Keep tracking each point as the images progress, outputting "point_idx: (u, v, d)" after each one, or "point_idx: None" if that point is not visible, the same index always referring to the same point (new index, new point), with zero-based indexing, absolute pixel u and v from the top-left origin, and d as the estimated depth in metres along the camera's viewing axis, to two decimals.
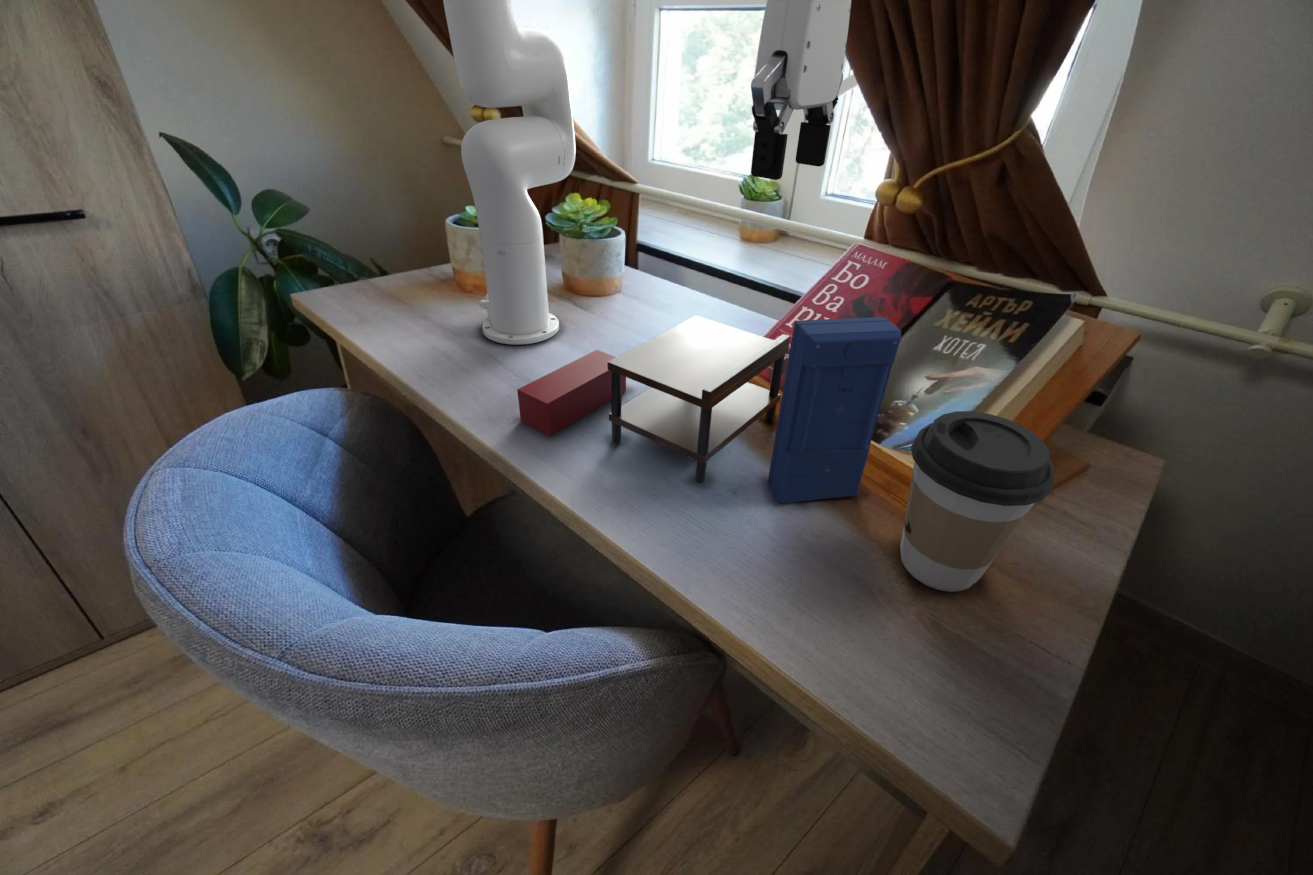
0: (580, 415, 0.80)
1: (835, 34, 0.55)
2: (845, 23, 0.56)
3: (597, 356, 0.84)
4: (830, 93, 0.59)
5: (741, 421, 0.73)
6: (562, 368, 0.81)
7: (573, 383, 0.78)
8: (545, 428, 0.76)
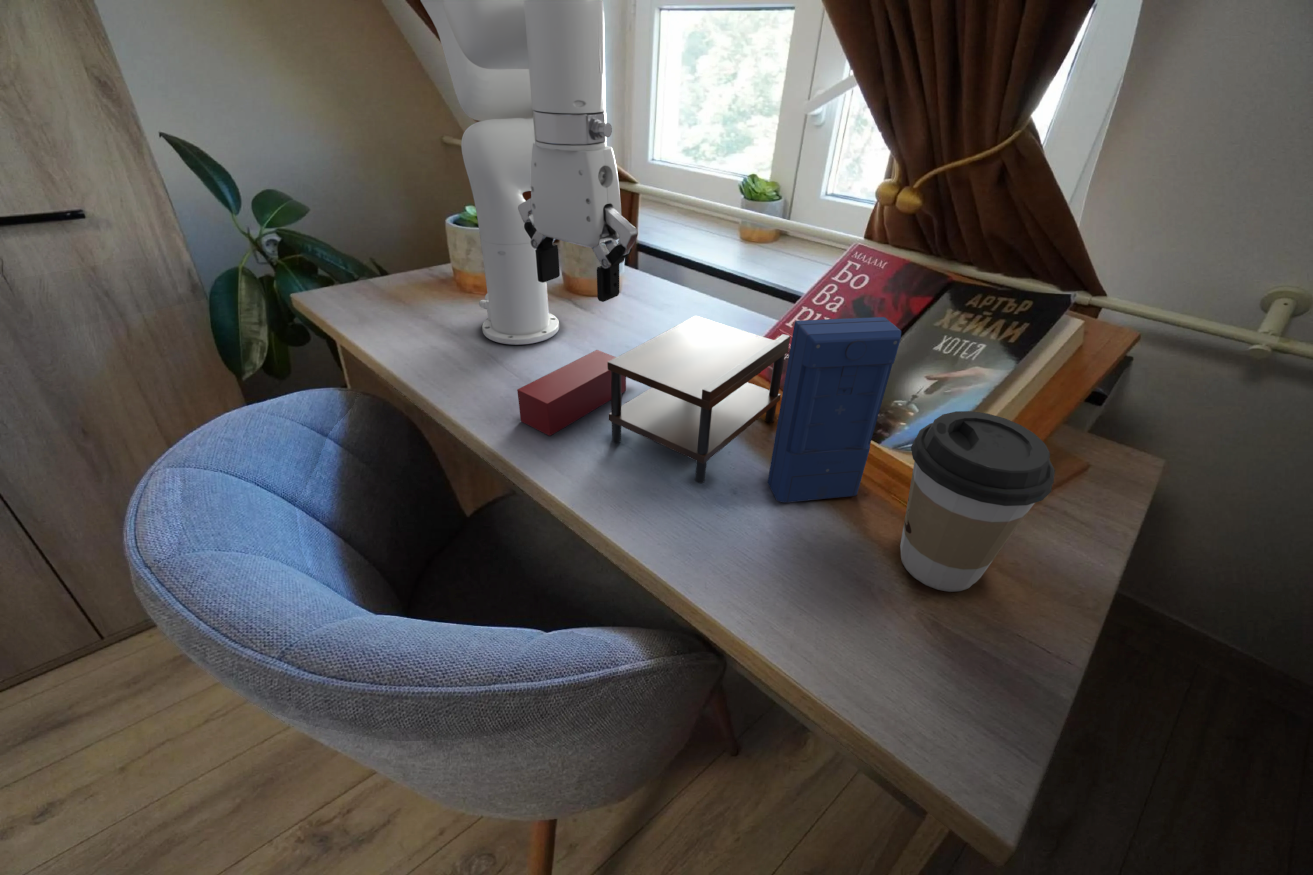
0: (580, 415, 0.80)
1: (560, 188, 0.64)
2: (576, 182, 0.63)
3: (597, 356, 0.84)
4: (577, 236, 0.66)
5: (741, 421, 0.73)
6: (562, 368, 0.81)
7: (573, 383, 0.78)
8: (545, 428, 0.76)
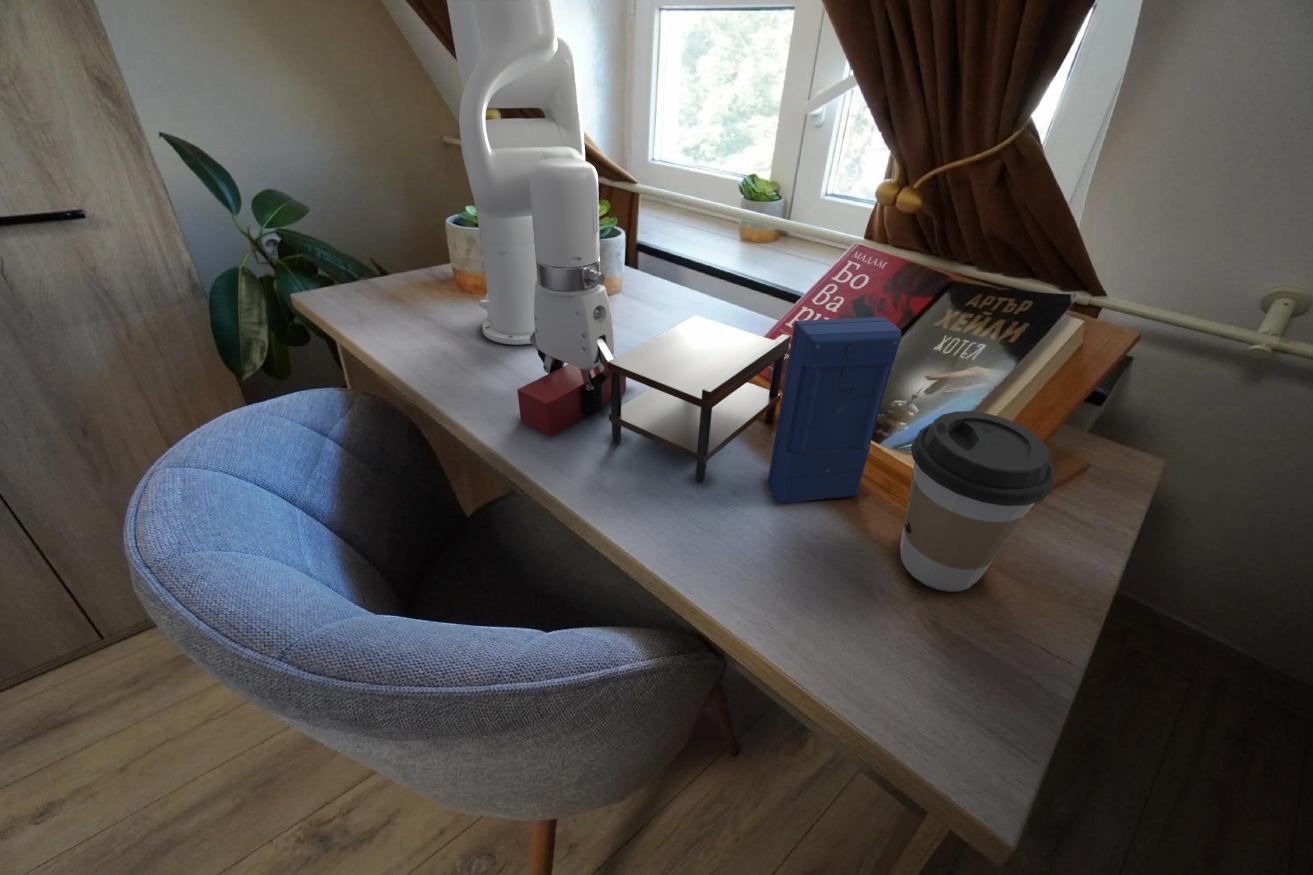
0: (580, 415, 0.80)
1: (559, 321, 0.73)
2: (573, 319, 0.72)
3: None
4: (574, 360, 0.75)
5: (741, 421, 0.73)
6: (562, 368, 0.81)
7: (573, 383, 0.78)
8: (545, 428, 0.76)
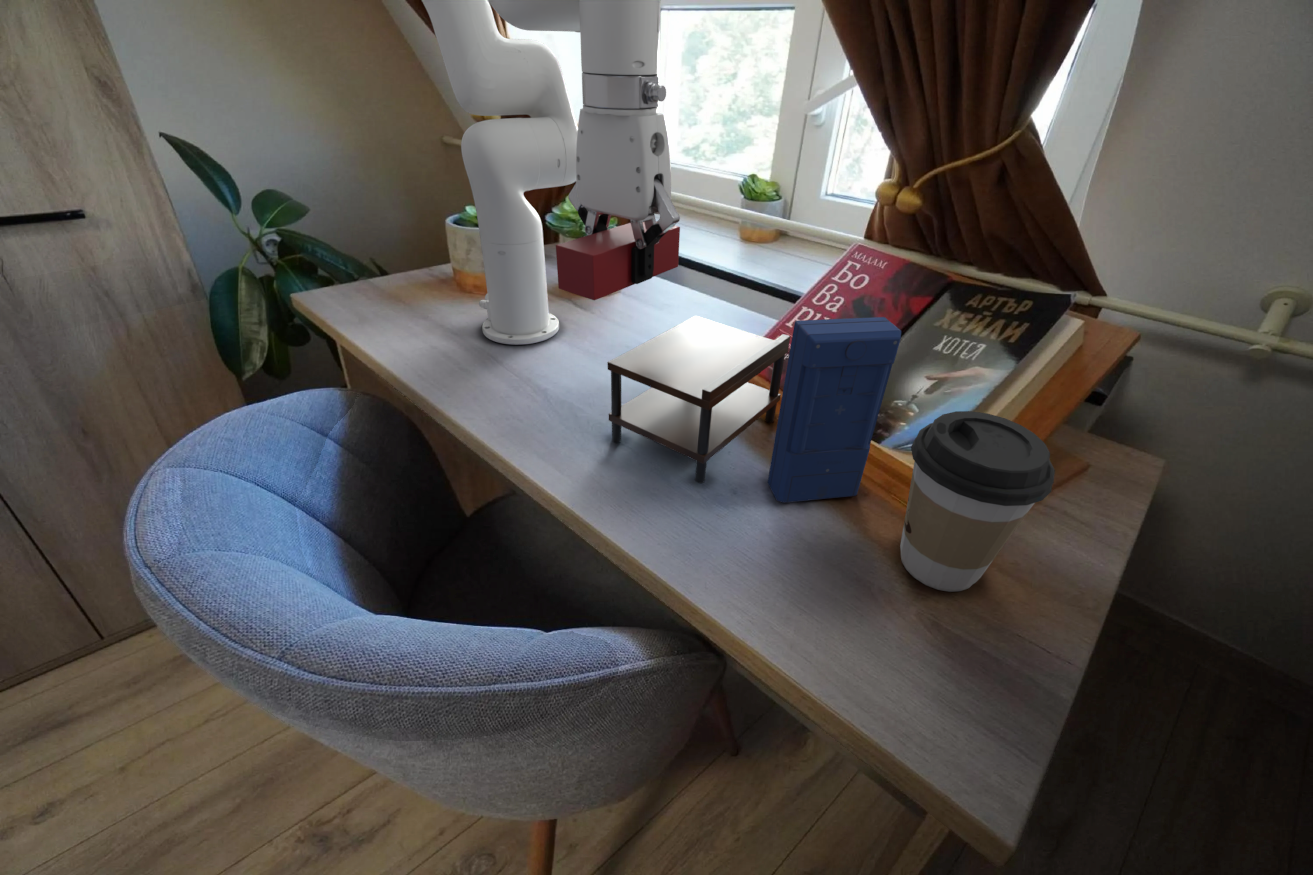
0: (629, 283, 0.67)
1: (608, 156, 0.61)
2: (626, 149, 0.59)
3: None
4: (625, 208, 0.63)
5: (741, 421, 0.73)
6: (606, 230, 0.69)
7: (621, 241, 0.65)
8: (589, 291, 0.64)
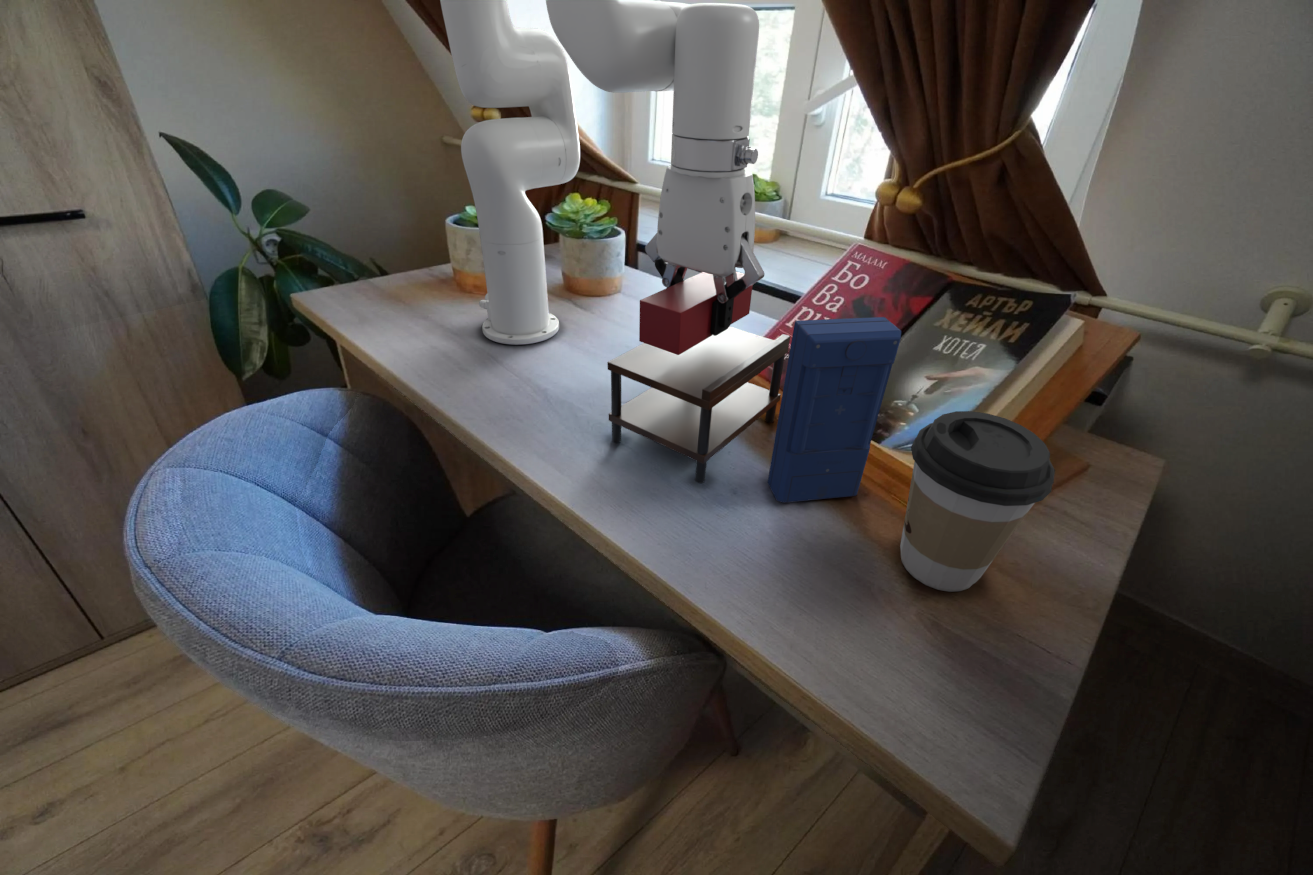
0: (708, 334, 0.68)
1: (695, 215, 0.61)
2: (715, 209, 0.60)
3: None
4: (709, 264, 0.63)
5: (741, 421, 0.73)
6: (683, 281, 0.69)
7: (703, 295, 0.66)
8: (673, 346, 0.64)
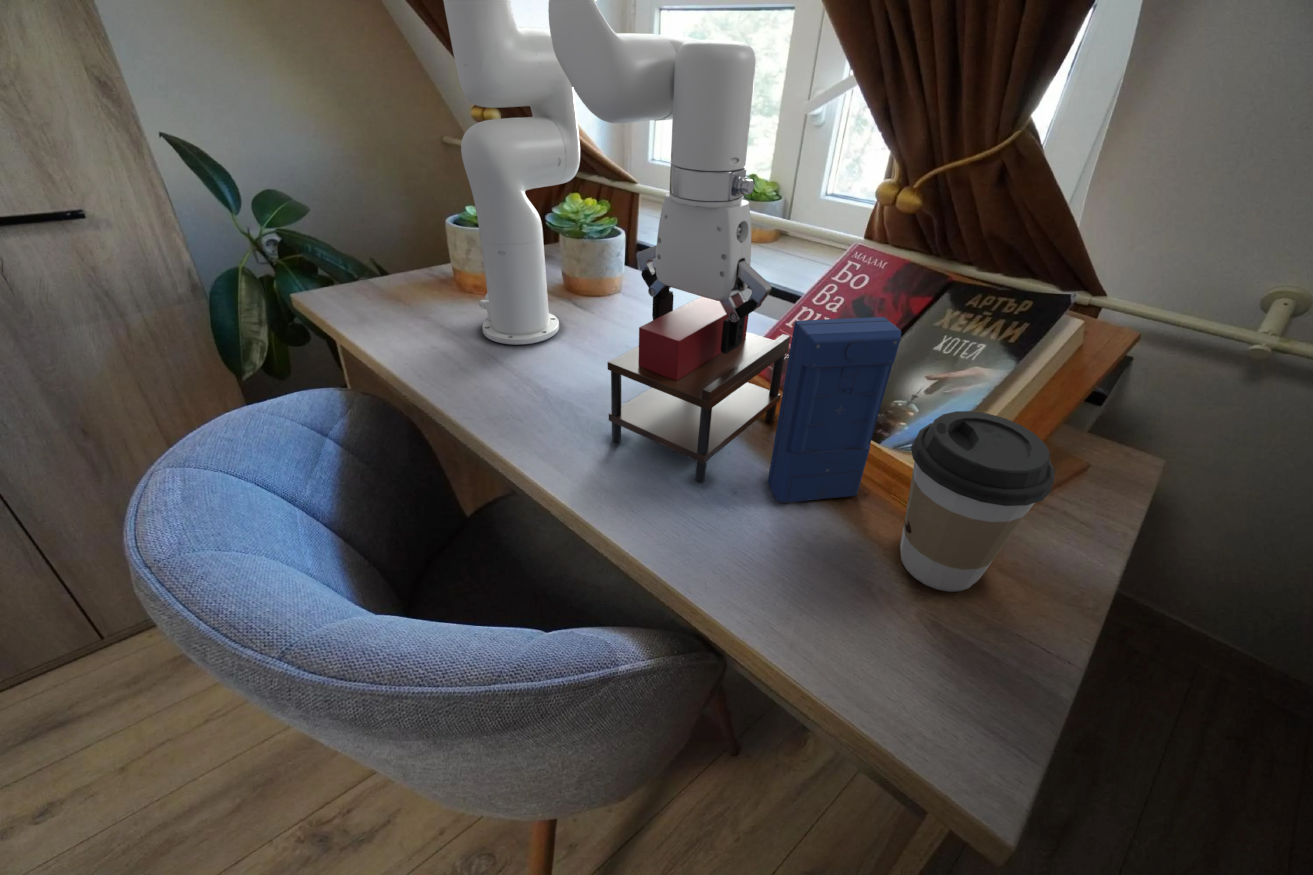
0: (705, 359, 0.70)
1: (693, 242, 0.63)
2: (712, 237, 0.62)
3: None
4: (706, 289, 0.65)
5: (741, 421, 0.73)
6: (681, 307, 0.71)
7: (700, 322, 0.68)
8: (672, 372, 0.66)
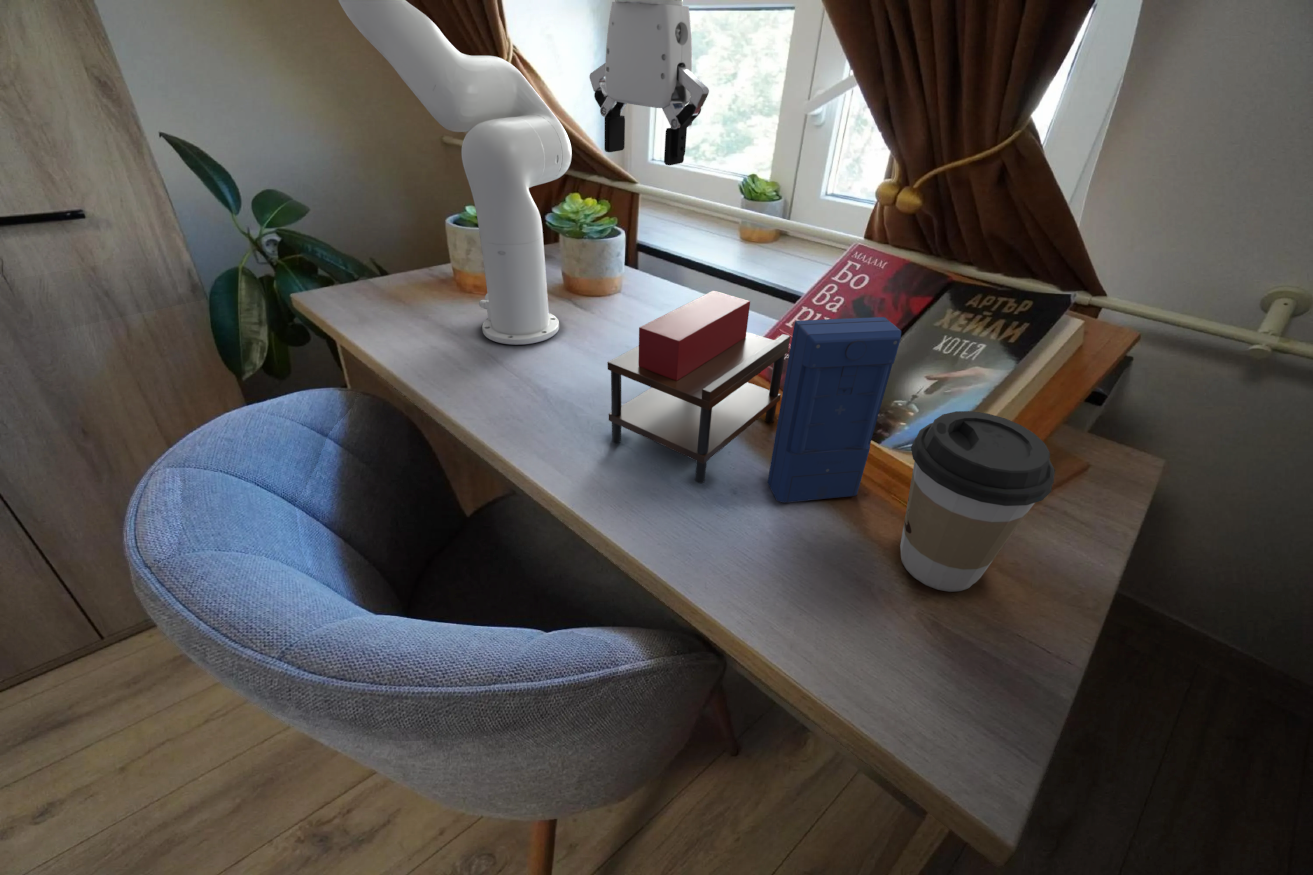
0: (705, 359, 0.70)
1: (636, 45, 0.67)
2: (653, 37, 0.66)
3: (717, 296, 0.74)
4: (649, 96, 0.70)
5: (741, 421, 0.73)
6: (681, 307, 0.71)
7: (700, 322, 0.68)
8: (672, 372, 0.66)
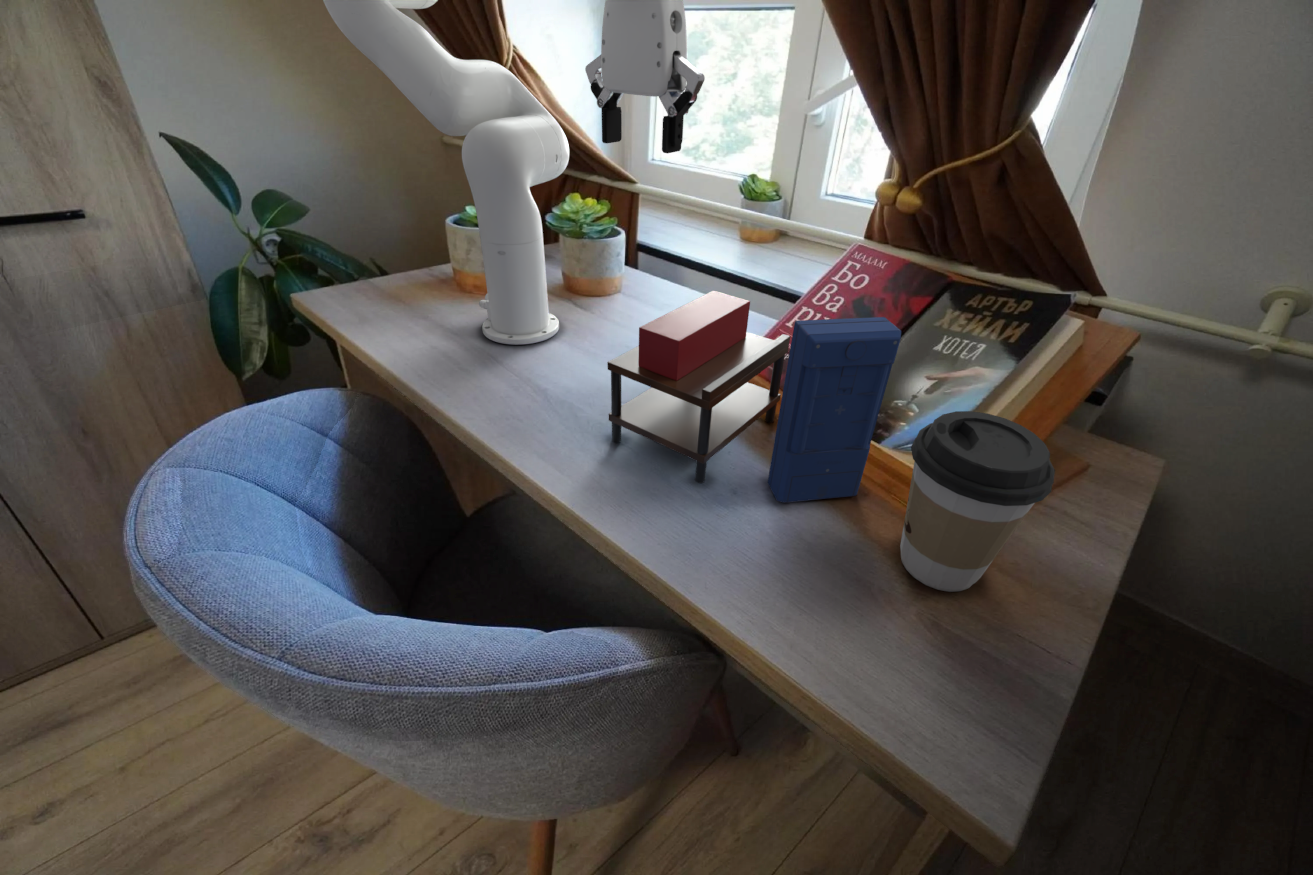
0: (705, 359, 0.70)
1: (632, 35, 0.68)
2: (648, 26, 0.67)
3: (717, 296, 0.74)
4: (646, 85, 0.70)
5: (741, 421, 0.73)
6: (681, 307, 0.71)
7: (700, 322, 0.68)
8: (672, 372, 0.66)
